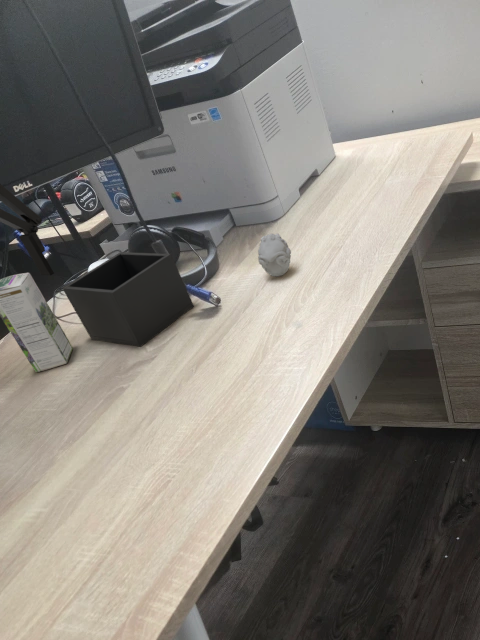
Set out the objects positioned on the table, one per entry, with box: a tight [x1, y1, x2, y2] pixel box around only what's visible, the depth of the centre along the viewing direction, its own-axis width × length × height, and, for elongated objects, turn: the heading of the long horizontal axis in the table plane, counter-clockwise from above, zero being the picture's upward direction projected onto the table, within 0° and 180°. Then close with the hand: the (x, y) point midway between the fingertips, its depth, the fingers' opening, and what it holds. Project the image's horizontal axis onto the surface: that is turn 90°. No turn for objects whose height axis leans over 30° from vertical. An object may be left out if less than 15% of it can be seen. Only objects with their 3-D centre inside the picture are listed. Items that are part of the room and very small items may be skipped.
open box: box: [62, 251, 195, 348], centre depth 113 cm, size 14×14×10 cm
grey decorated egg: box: [257, 233, 292, 277], centre depth 117 cm, size 6×7×7 cm
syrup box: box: [0, 272, 74, 373], centre depth 108 cm, size 6×6×14 cm
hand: (14, 294), depth 105 cm, fingers open, 13 cm apart
